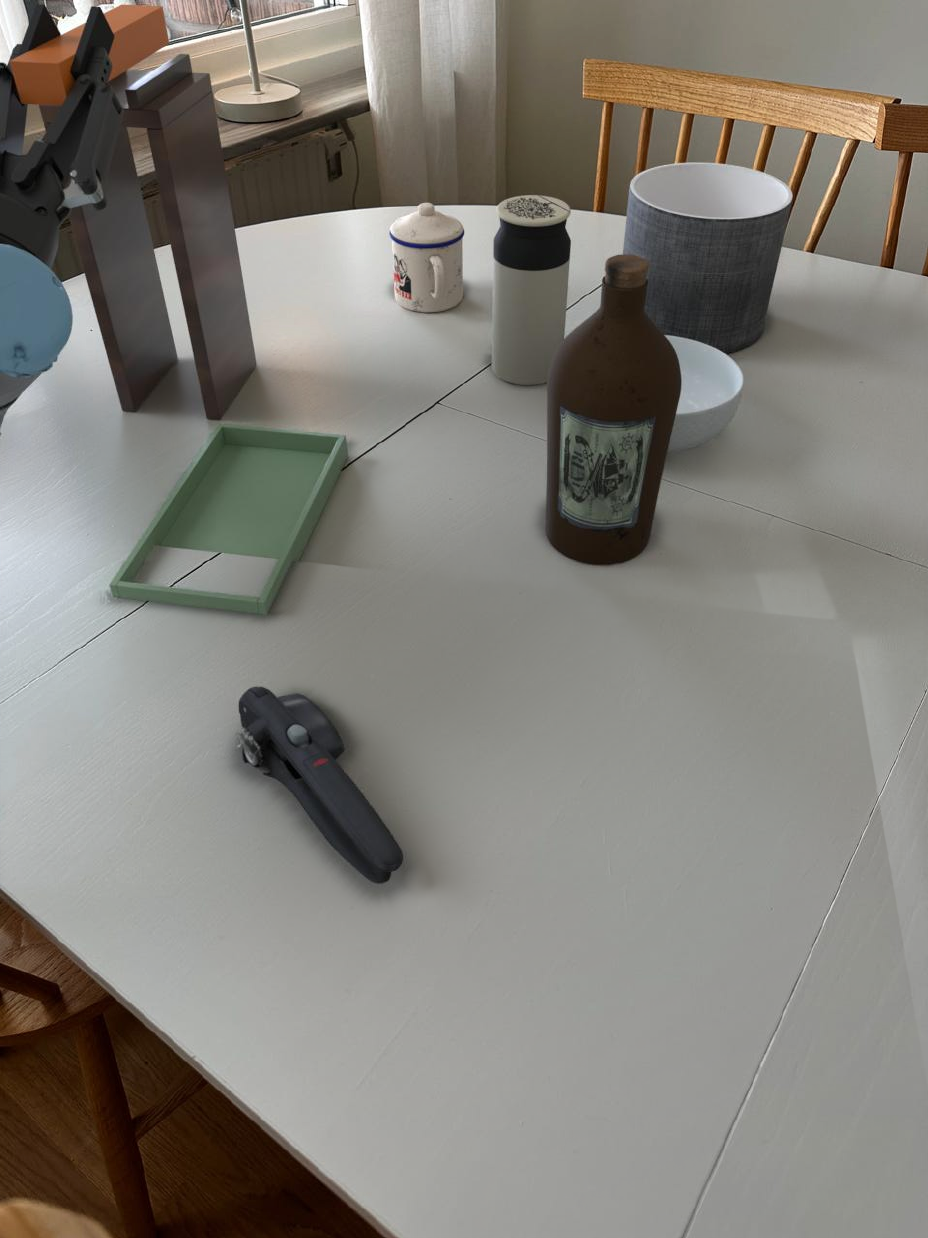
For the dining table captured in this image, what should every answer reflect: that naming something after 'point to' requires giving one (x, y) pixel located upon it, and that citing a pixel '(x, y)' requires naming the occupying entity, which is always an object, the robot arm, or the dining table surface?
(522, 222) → the travel mug
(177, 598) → the tray
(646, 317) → the olive oil
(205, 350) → the tall brown stand
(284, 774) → the can opener
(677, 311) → the planter
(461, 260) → the teacup with lid
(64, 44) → the orange rectangular bar
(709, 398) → the cereal bowl
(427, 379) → the dining table surface
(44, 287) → the robot arm
